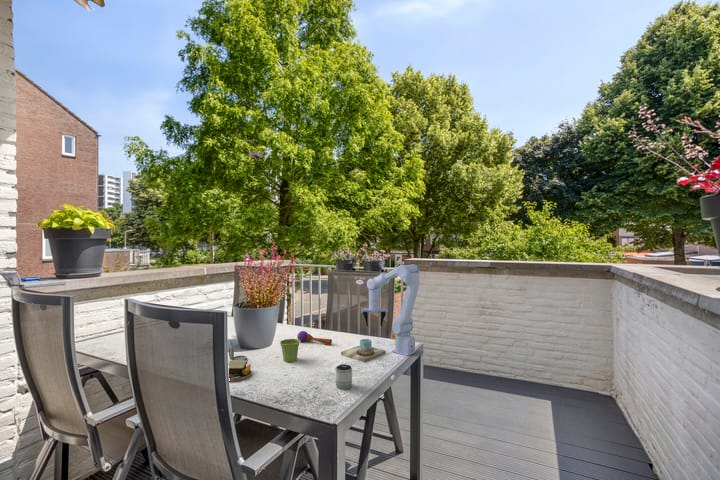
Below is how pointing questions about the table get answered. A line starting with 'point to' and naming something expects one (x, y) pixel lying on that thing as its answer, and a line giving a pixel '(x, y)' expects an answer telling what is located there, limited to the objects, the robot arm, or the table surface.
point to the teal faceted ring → (365, 344)
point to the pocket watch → (231, 354)
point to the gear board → (363, 353)
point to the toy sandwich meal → (239, 370)
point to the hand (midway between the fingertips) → (374, 325)
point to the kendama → (312, 338)
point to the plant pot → (290, 349)
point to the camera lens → (343, 376)
